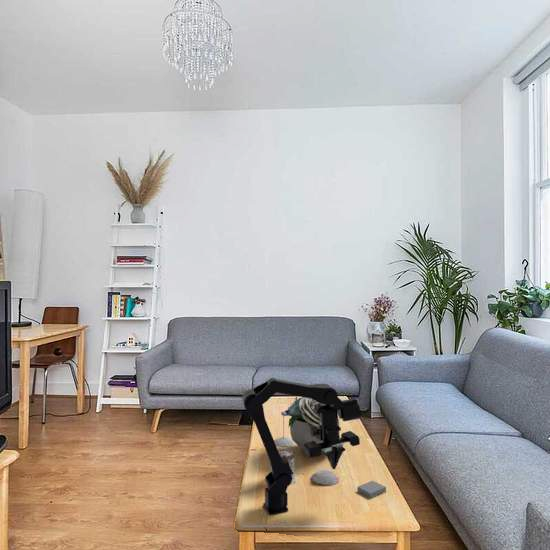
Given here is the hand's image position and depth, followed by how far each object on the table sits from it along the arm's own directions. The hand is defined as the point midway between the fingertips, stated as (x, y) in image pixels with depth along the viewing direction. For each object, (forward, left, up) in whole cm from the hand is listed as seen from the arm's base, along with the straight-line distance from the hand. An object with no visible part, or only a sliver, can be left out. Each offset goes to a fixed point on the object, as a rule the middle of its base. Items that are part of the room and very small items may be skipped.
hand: (333, 468), depth 141 cm
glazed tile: (+12, 0, -10) cm, 16 cm away
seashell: (+5, +15, -11) cm, 19 cm away
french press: (-10, +20, -11) cm, 25 cm away
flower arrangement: (+13, +40, -11) cm, 44 cm away
